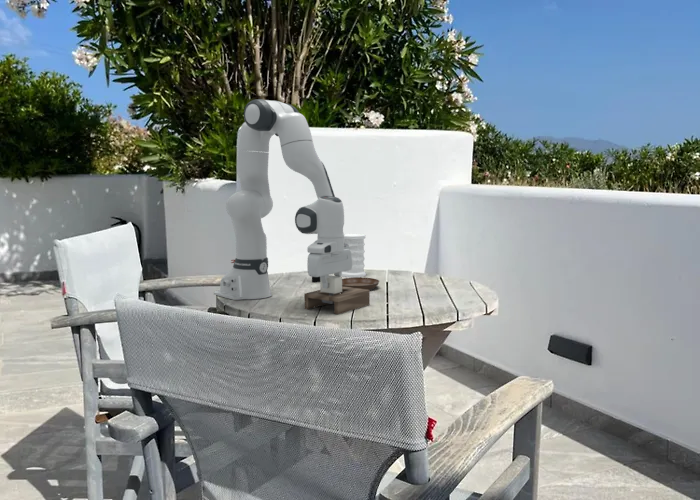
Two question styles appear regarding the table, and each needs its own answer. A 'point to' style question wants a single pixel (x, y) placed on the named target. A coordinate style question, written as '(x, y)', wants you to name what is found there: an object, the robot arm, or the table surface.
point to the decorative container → (355, 255)
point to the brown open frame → (339, 299)
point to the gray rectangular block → (332, 287)
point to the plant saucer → (360, 283)
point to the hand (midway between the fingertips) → (331, 286)
